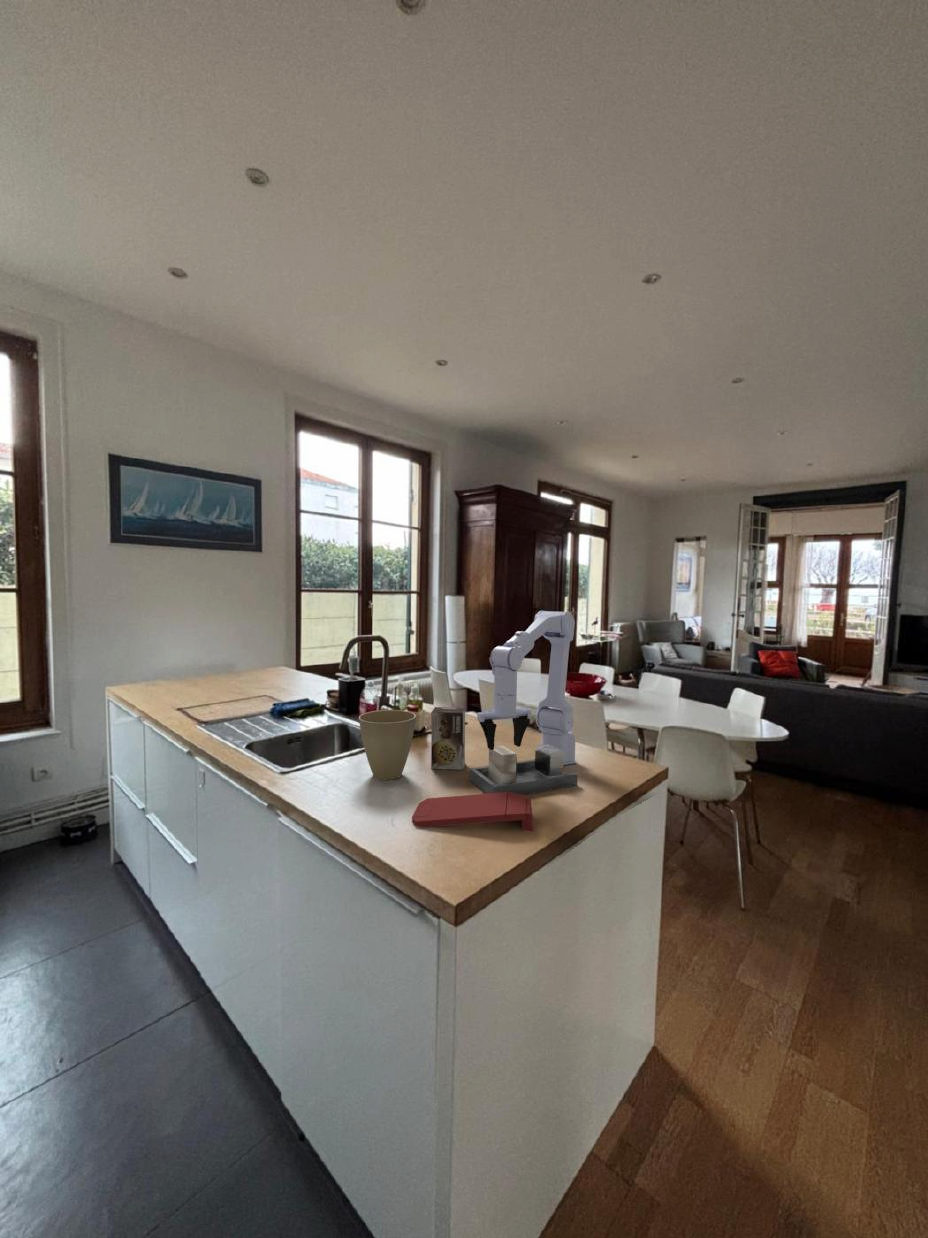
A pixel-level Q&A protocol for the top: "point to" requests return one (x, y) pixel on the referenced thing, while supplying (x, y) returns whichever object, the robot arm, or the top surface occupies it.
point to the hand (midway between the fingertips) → (504, 747)
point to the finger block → (502, 765)
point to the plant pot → (387, 741)
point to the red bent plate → (474, 810)
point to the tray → (530, 774)
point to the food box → (448, 738)
